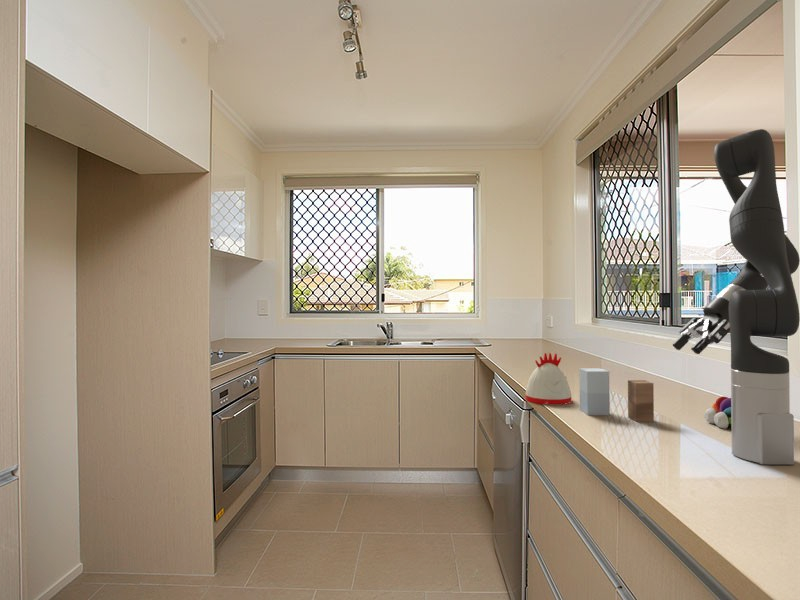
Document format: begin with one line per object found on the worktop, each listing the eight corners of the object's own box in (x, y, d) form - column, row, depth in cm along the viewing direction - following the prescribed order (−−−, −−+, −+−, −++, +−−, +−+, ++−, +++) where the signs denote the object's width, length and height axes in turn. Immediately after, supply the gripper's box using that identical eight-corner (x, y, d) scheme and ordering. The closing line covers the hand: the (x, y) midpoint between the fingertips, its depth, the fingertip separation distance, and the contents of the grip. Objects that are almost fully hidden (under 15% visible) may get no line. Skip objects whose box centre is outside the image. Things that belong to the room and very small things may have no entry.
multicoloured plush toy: (735, 421, 121) (734, 393, 121) (760, 432, 111) (759, 401, 112) (700, 421, 122) (700, 393, 122) (722, 431, 112) (722, 401, 112)
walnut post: (653, 421, 121) (653, 383, 121) (636, 421, 121) (635, 383, 121) (645, 417, 125) (644, 380, 125) (628, 417, 126) (627, 380, 126)
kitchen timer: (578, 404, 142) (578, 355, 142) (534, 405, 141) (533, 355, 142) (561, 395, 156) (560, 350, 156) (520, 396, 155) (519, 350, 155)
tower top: (609, 393, 128) (609, 371, 128) (587, 393, 129) (587, 371, 129) (600, 389, 134) (600, 368, 134) (579, 389, 135) (579, 368, 135)
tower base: (609, 415, 128) (609, 393, 128) (587, 415, 129) (587, 393, 129) (600, 410, 134) (600, 389, 134) (579, 410, 135) (579, 389, 135)
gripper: (701, 295, 130) (659, 337, 130) (737, 295, 116) (690, 342, 116) (720, 314, 130) (679, 356, 130) (759, 316, 116) (712, 363, 116)
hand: (684, 349), depth 123 cm, fingers open, 8 cm apart
